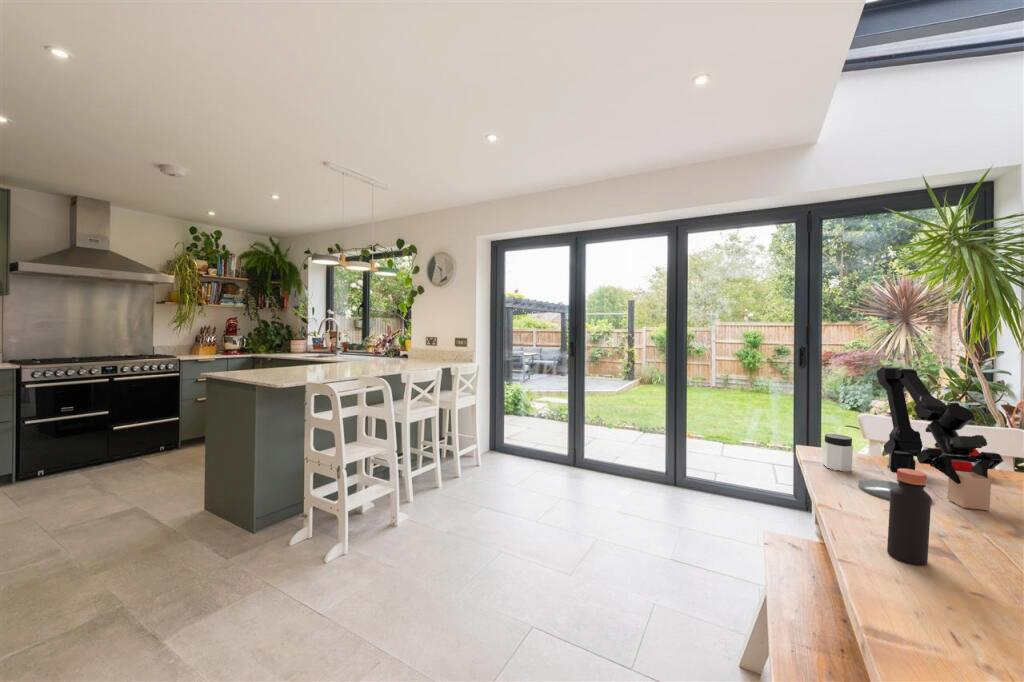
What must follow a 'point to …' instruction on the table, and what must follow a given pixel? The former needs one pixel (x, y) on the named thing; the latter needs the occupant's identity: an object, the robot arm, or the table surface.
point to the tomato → (964, 463)
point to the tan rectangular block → (970, 491)
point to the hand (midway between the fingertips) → (972, 484)
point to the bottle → (909, 518)
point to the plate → (877, 487)
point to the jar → (837, 452)
